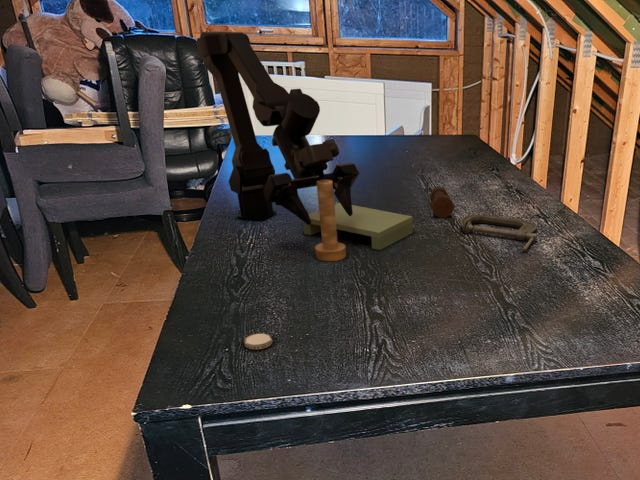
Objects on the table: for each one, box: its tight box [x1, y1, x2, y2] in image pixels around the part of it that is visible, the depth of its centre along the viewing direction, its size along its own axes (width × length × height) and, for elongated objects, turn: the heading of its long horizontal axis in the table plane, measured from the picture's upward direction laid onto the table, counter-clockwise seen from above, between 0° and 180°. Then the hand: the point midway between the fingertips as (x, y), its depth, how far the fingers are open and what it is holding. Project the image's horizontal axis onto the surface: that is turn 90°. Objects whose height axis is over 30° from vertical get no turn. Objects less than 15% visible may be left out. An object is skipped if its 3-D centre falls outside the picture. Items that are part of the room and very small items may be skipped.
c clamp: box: [459, 214, 538, 252], centre depth 146 cm, size 20×17×3 cm
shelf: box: [302, 202, 414, 251], centre depth 143 cm, size 20×13×4 cm, turn 63°
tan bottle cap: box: [243, 333, 273, 350], centre depth 99 cm, size 4×4×1 cm
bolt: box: [428, 186, 456, 219], centre depth 161 cm, size 6×5×15 cm
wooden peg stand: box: [314, 180, 347, 262], centre depth 128 cm, size 6×6×15 cm
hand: (331, 219), depth 127 cm, fingers open, 9 cm apart
